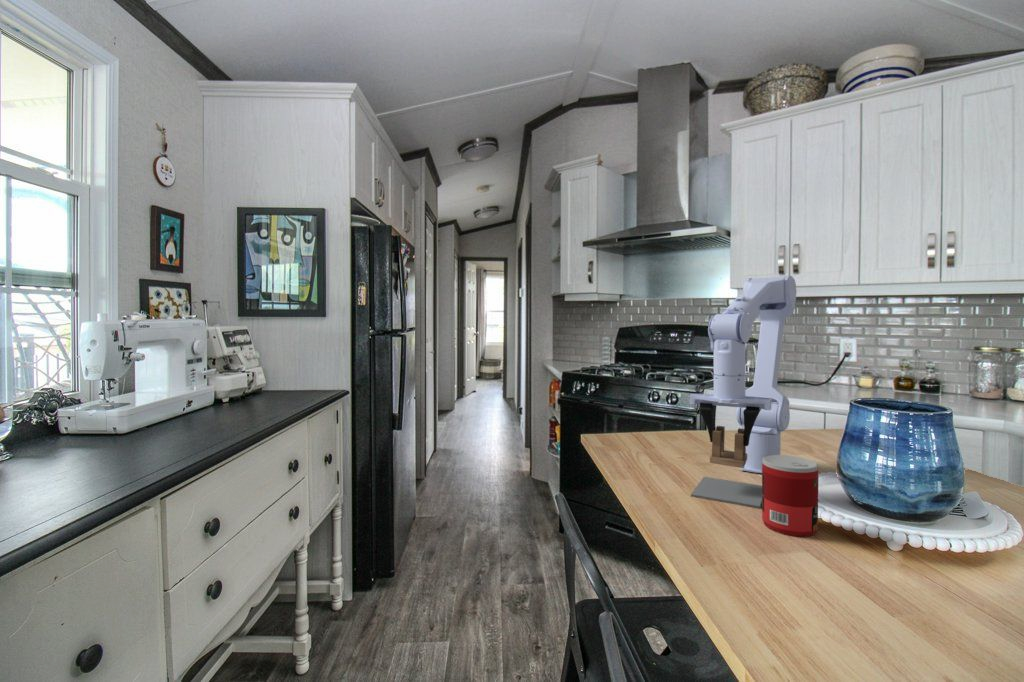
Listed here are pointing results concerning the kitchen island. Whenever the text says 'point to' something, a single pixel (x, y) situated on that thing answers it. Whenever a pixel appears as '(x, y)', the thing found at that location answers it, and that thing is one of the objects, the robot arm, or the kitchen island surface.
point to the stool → (728, 457)
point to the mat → (729, 492)
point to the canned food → (790, 495)
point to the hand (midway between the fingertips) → (729, 442)
